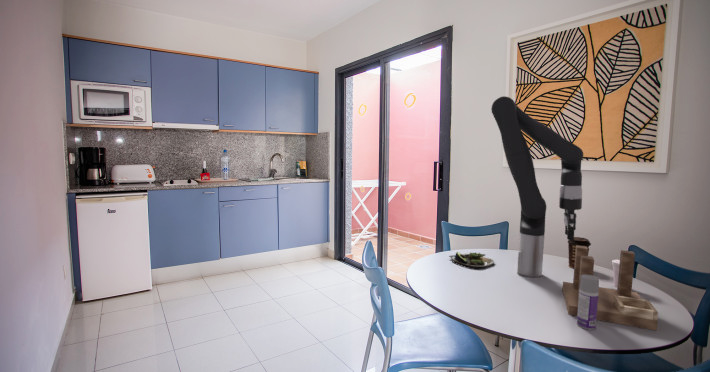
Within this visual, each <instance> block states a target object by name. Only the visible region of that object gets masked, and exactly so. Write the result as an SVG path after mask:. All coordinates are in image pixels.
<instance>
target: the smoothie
mask: <svg viewBox="0 0 710 372" xmlns="http://www.w3.org/2000/svg"><path fill="white" fill-rule="evenodd" d="M611 264H612V272H613V285H614V287H615V288H617V287H618V275H619V264H620V259H612V260H611Z"/></svg>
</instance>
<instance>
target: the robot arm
mask: <svg viewBox="0 0 710 372" xmlns="http://www.w3.org/2000/svg"><path fill="white" fill-rule="evenodd" d="M491 114H492V115H493V118H494V120H495V122H496V125H497V127H498V130H499V133H500V137H501V142H502V147H503V151H504V155H505V156H504V157H505V159H506V162H507V166H508V169H509V172H510V174H511V176H512V178H513V180H514V183H515V185H516V188H517V192H518V196H519V202H520V220H519V221H520V222H519V239H518V240H519V242H518V257H517V269H516V270H517V273H516V274H519V275H522V276H524V277H525V276H526V277H530V278H531V277H532V278H539V277H542V275H543V267H544V266H543V262H544V248H545V247H544V246H545V233H546V213H547V203H546V200H545V199H544V198H543V196H542V194H541V192H540V189H539V186H538V183H537V177H536V170H535V165H534V160H533V157H532V153H531V151H530V147H529V145H528V143H527V140H526V138H525V136H524V134H523V133H525V135H526V136H527V137H529V138H531V139H532V140H533V141H535V142H536V143H538V144H539V145H540V146H542V147H543V148H545V149H546V150H548V151H550V152H551V153H553V154H554V155H556V157H558V158H560V160H561V174H560V175H561V176H560V187H559V199H558V200H559V202H558V203H559V204H558V205H559V206H558V207H559V209H562V210H564V212H563V221H564V227H565V228H564V230H565V231H564V234H565V235H566V236H567V237H566V238H567V241H568V240H574V237H575V231H576V227H577V226H576V225H577V213H576V212H575V211H579V210H582V207H583V206H582V205H583V187H582V185H583V182H582V181H583V180H582V179H583V175H582V174H583V173H582V170H581V169H582V160H583V158H584V151H583V149H582V148H581V147H579V146H578V145H576V144H574V143H572V142H571V141H569V140H568V139H566V138H564V137H563V136H562V135H561V134H559V133H558V132H556V131H555V130H554V129H552V128H551V127H548V126H547V125H545V124H544V123H541V122H540V121H539V120H537V119H535V118H533V117H531V116H530V115H528V113H526V112H524V111H523V110H522V109H521V108H520V107H519V106H518V105H517V104H516V102H515V101H514V99H512V98H511V97H509V96H500V97H497V98H496V99H495V100H494V101H493V102H492V104H491Z"/></svg>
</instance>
